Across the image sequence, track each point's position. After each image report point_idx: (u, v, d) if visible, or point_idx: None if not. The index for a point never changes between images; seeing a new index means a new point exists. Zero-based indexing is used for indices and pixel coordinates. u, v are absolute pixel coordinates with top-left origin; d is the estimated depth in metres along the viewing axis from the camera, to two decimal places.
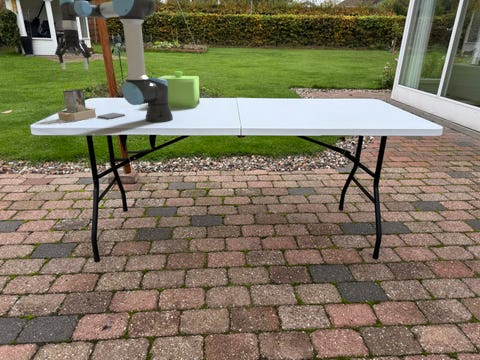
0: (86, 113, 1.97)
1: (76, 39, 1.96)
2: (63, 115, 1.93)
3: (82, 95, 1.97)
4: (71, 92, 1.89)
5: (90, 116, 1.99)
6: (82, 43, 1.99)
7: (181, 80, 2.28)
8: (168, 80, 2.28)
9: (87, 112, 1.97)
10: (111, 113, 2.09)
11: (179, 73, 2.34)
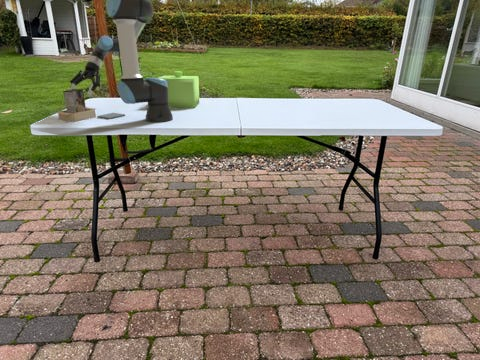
0: (86, 113, 1.97)
1: (92, 71, 2.04)
2: (63, 115, 1.93)
3: (82, 95, 1.97)
4: (71, 92, 1.89)
5: (90, 116, 1.99)
6: (96, 74, 2.03)
7: (181, 80, 2.28)
8: (168, 80, 2.29)
9: (87, 112, 1.97)
10: (111, 113, 2.09)
11: (179, 73, 2.35)
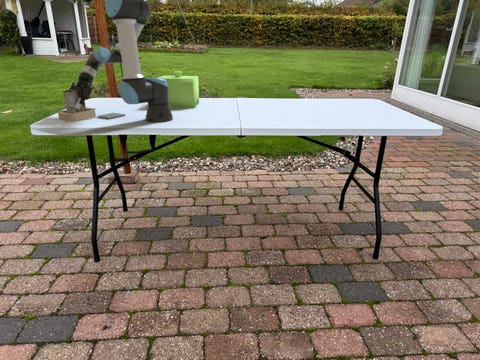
0: (86, 113, 1.97)
1: (86, 81, 1.99)
2: (63, 115, 1.93)
3: None
4: (71, 92, 1.89)
5: (90, 116, 1.99)
6: None
7: (181, 80, 2.29)
8: (168, 80, 2.29)
9: (87, 112, 1.97)
10: (111, 113, 2.09)
11: (179, 73, 2.35)
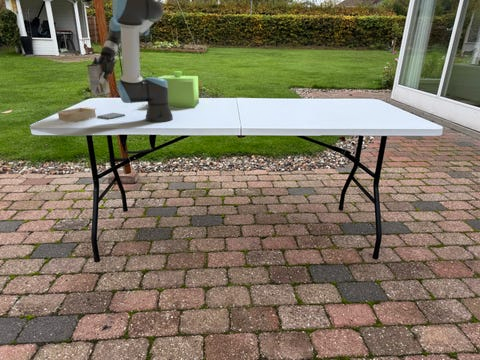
0: (86, 113, 1.97)
1: (109, 56, 1.98)
2: (63, 115, 1.93)
3: None
4: (95, 66, 1.89)
5: (90, 116, 1.99)
6: None
7: (180, 80, 2.29)
8: (168, 80, 2.29)
9: (87, 112, 1.97)
10: (111, 113, 2.09)
11: (178, 73, 2.35)
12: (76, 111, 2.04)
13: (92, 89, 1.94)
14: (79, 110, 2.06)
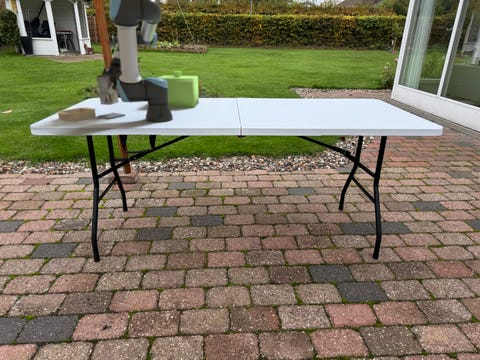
0: (86, 113, 1.97)
1: (118, 66, 2.02)
2: (63, 115, 1.93)
3: None
4: (105, 77, 1.92)
5: (90, 116, 1.99)
6: None
7: (180, 80, 2.29)
8: (167, 80, 2.30)
9: (87, 112, 1.97)
10: (111, 113, 2.09)
11: (178, 73, 2.36)
12: (76, 111, 2.04)
13: (101, 99, 1.98)
14: (79, 110, 2.06)
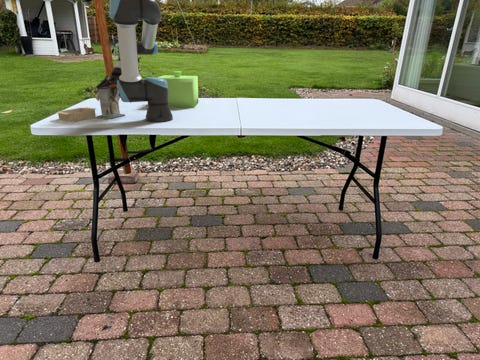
0: (86, 113, 1.97)
1: (119, 76, 2.03)
2: (63, 115, 1.93)
3: (116, 92, 2.02)
4: (105, 89, 1.94)
5: (90, 116, 1.99)
6: None
7: (180, 80, 2.30)
8: (167, 80, 2.30)
9: (87, 112, 1.97)
10: None
11: (178, 73, 2.36)
12: (76, 111, 2.04)
13: (102, 111, 2.00)
14: (79, 110, 2.06)
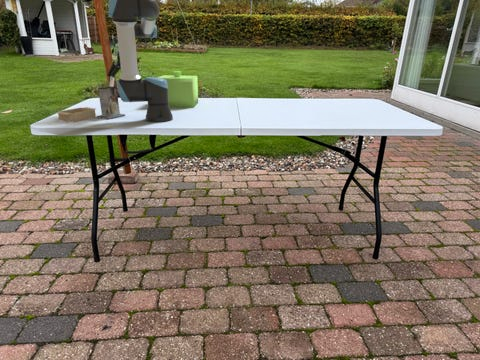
0: (86, 113, 1.97)
1: None
2: (63, 115, 1.93)
3: (116, 92, 2.02)
4: (105, 89, 1.94)
5: (90, 116, 1.99)
6: None
7: (180, 80, 2.30)
8: (167, 80, 2.30)
9: (87, 112, 1.97)
10: None
11: (178, 73, 2.36)
12: (76, 111, 2.04)
13: (102, 111, 2.00)
14: (79, 110, 2.06)
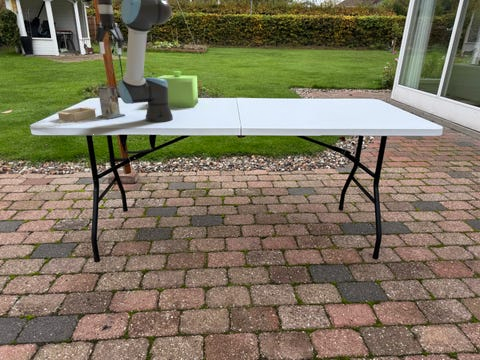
0: (86, 113, 1.97)
1: (108, 23, 1.93)
2: (63, 115, 1.93)
3: (116, 92, 2.02)
4: (105, 89, 1.94)
5: (90, 116, 1.99)
6: (114, 26, 1.92)
7: (180, 80, 2.30)
8: (167, 80, 2.31)
9: (87, 112, 1.97)
10: None
11: (178, 73, 2.37)
12: (76, 111, 2.04)
13: (102, 111, 2.00)
14: (79, 110, 2.06)
